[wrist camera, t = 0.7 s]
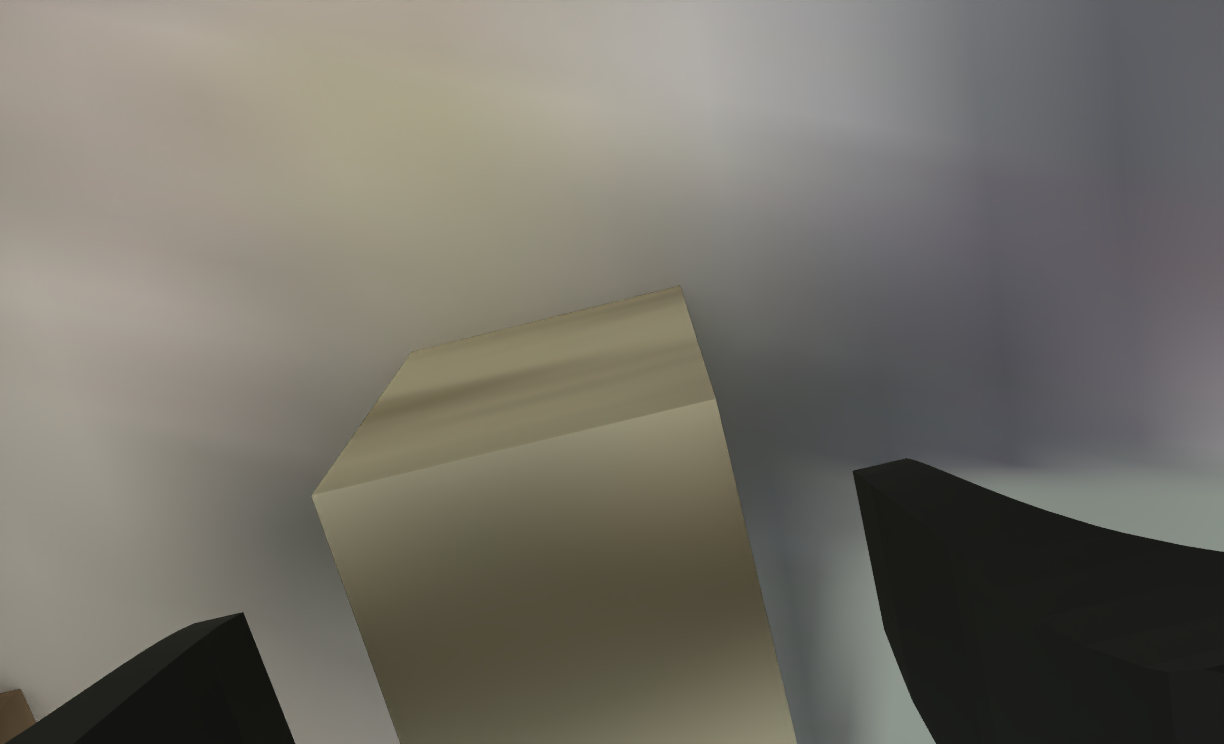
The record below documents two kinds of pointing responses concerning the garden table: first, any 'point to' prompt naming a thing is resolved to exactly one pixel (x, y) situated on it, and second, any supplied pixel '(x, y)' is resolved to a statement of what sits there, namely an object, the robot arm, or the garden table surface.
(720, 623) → the brass block
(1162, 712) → the robot arm
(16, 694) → the walnut box
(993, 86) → the garden table surface
